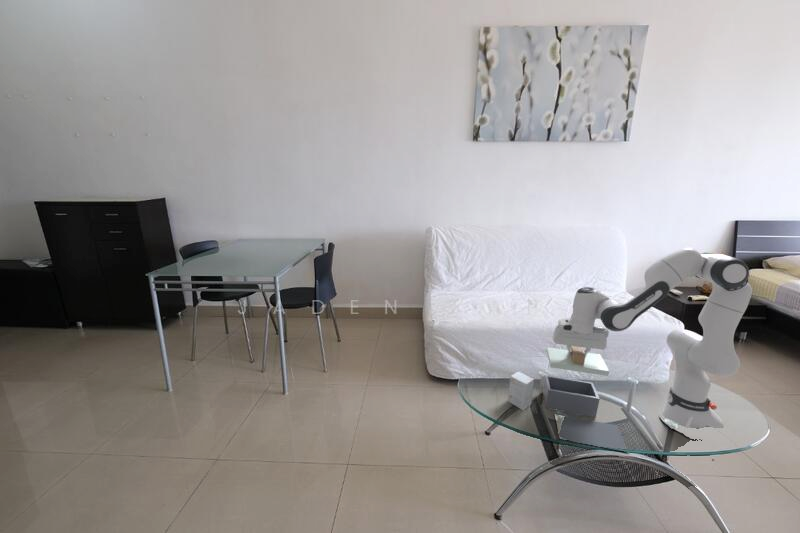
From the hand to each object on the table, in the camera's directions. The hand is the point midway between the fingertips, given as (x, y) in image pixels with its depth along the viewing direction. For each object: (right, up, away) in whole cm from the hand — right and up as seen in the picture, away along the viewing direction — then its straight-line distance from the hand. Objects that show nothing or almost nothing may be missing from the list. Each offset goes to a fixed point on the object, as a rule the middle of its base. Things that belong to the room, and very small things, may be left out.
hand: (576, 355), depth 151 cm
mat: (0, -28, -10) cm, 30 cm away
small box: (-22, -23, +6) cm, 33 cm away
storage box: (-1, -23, +7) cm, 24 cm away
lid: (0, -4, +1) cm, 4 cm away
